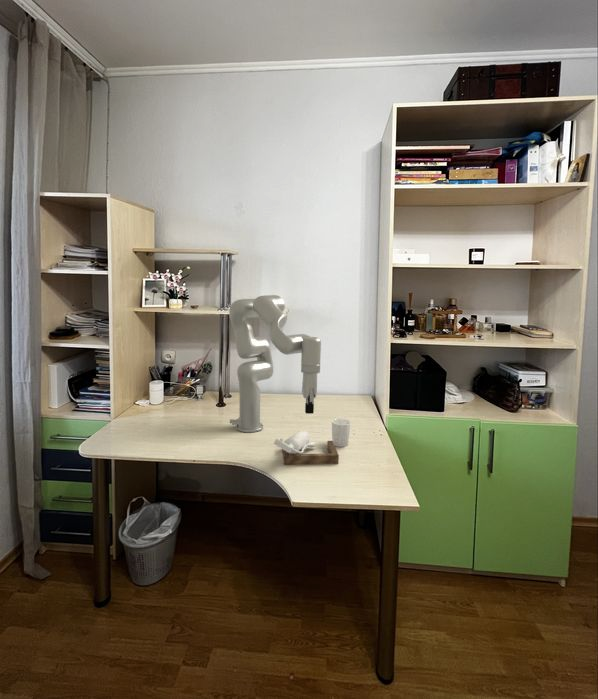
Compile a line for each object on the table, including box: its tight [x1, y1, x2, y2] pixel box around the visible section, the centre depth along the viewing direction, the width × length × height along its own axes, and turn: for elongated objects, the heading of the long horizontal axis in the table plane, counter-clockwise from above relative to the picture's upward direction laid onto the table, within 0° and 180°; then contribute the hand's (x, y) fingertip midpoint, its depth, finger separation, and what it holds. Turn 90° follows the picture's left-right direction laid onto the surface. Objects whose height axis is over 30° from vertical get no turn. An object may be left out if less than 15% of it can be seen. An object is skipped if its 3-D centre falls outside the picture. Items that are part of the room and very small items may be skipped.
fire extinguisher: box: [273, 430, 317, 454], centre depth 182 cm, size 7×12×25 cm
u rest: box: [281, 440, 340, 466], centre depth 184 cm, size 21×15×4 cm
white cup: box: [331, 418, 351, 448], centre depth 197 cm, size 8×8×10 cm
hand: (309, 412), depth 184 cm, fingers closed
